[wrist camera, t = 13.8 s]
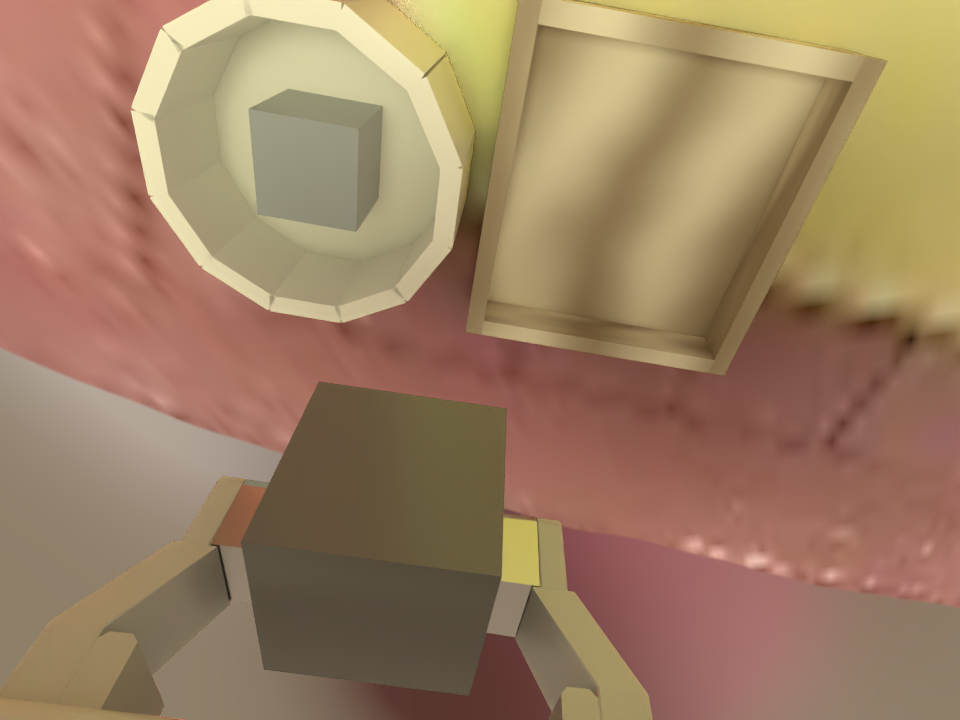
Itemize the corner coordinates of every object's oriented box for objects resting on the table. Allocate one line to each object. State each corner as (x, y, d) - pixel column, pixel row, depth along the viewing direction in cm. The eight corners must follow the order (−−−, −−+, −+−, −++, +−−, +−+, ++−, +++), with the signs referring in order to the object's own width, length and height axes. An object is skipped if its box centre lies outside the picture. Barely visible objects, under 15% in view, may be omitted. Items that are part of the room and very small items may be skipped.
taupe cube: (382, 105, 23) (358, 128, 20) (378, 198, 26) (356, 232, 22) (288, 88, 23) (248, 108, 20) (292, 182, 25) (257, 214, 22)
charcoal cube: (506, 408, 12) (501, 576, 8) (480, 527, 14) (469, 695, 11) (319, 381, 12) (240, 541, 8) (323, 505, 14) (263, 669, 11)
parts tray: (847, 50, 22) (887, 61, 19) (708, 342, 30) (724, 375, 27) (521, -11, 21) (519, -8, 19) (470, 301, 30) (465, 332, 27)
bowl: (491, 15, 22) (480, 27, 17) (454, 281, 29) (440, 339, 24) (188, -41, 22) (99, -43, 17) (225, 242, 29) (168, 294, 24)
